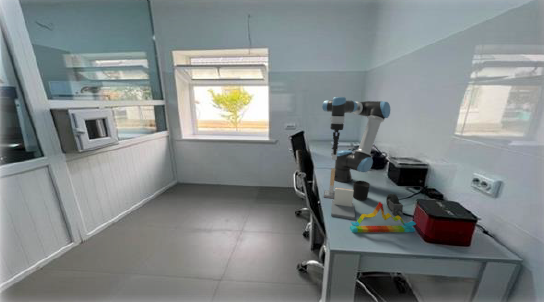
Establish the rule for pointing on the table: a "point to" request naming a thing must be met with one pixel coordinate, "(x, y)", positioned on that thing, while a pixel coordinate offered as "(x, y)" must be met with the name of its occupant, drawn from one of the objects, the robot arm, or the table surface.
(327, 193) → the wooden post on base
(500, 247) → the table surface
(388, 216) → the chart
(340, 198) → the tile
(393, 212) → the caster wheel
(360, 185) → the pen holder
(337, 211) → the slate board
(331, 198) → the mat
